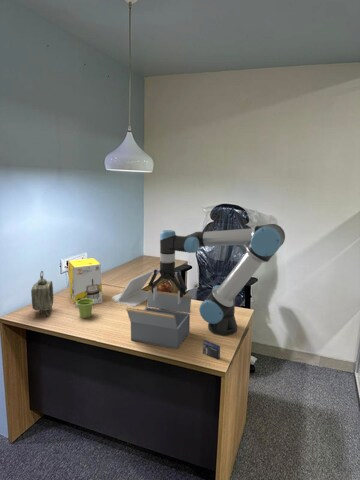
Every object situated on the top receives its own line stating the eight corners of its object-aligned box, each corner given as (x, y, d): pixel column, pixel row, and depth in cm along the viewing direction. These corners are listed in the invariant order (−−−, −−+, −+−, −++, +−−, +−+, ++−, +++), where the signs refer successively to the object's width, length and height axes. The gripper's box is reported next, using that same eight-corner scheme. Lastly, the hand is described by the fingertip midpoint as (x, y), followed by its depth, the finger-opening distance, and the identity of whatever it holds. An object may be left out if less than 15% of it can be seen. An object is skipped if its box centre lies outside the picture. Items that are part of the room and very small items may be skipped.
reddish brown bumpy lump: (164, 304, 206) (164, 280, 203) (174, 307, 201) (174, 283, 198) (147, 311, 195) (147, 286, 192) (157, 315, 190) (157, 290, 187)
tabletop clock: (50, 317, 185) (47, 274, 180) (32, 318, 183) (29, 275, 179) (54, 307, 199) (51, 267, 194) (38, 308, 197) (35, 268, 193)
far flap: (189, 313, 168) (190, 312, 169) (190, 295, 168) (191, 295, 169) (147, 306, 176) (147, 306, 177) (148, 290, 176) (149, 290, 177)
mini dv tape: (202, 353, 150) (202, 341, 149) (204, 352, 151) (204, 340, 150) (218, 359, 145) (218, 347, 144) (219, 358, 146) (220, 346, 145)
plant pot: (97, 314, 190) (97, 300, 188) (86, 321, 182) (85, 306, 180) (85, 311, 194) (85, 297, 192) (73, 317, 186) (72, 302, 184)
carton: (189, 332, 170) (189, 313, 168) (177, 349, 153) (177, 329, 151) (146, 324, 178) (146, 307, 176) (131, 340, 161) (130, 321, 159)
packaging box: (75, 307, 200) (73, 267, 195) (70, 298, 214) (68, 261, 209) (102, 302, 208) (100, 264, 203) (95, 294, 222) (93, 258, 217)
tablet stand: (157, 294, 223) (156, 270, 220) (134, 307, 202) (134, 280, 199) (135, 289, 232) (134, 266, 229) (111, 301, 210) (110, 275, 207)
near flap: (174, 314, 146) (173, 316, 145) (177, 328, 151) (176, 330, 150) (127, 307, 154) (126, 309, 153) (131, 320, 159) (129, 322, 158)
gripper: (193, 261, 165) (192, 302, 170) (148, 257, 174) (148, 295, 178) (188, 265, 159) (187, 307, 163) (141, 260, 167) (142, 300, 171)
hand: (167, 301), depth 170 cm, fingers open, 13 cm apart
